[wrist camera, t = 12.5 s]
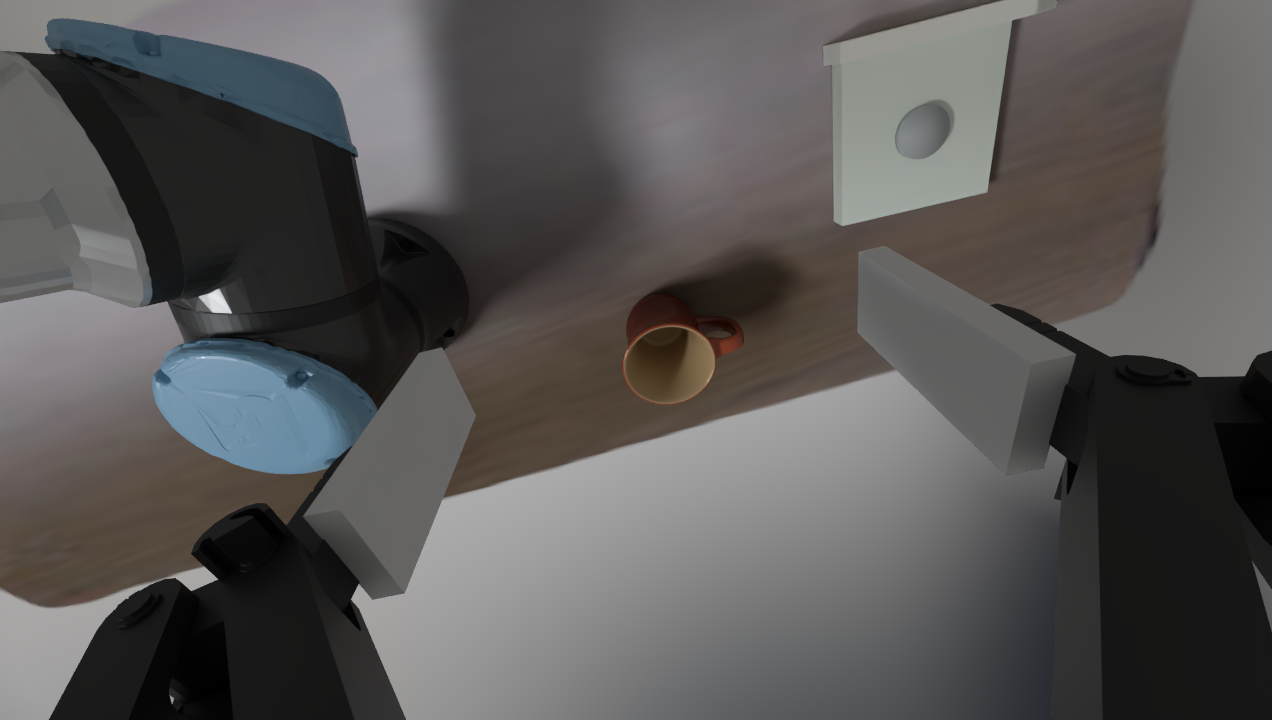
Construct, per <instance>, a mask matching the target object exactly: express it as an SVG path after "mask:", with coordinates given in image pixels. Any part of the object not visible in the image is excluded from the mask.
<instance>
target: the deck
mask: <svg viewBox="0 0 1272 720" xmlns="http://www.w3.org/2000/svg"><path fill="white" fill-rule="evenodd" d="M1056 5H1057V0H999V1H996V2H992V3H988V4H984V5H980V6H976V7H972V8H969V9H965V10H961V11H957V12H953V13H949V14H945V15H941V16H938V17H934V18H930V19H926V20H922V21H918V22H914V23H911V24H907V25H903V26H899V27H895V28H891V29H887V30H883V31H880V32H876V33H872V34H868V35H864V36H860V37H856V38H852V39H849V40H845V41H841V42H837V43H833V44H829V45H825V46H823V66H829V65H832V104H833V187H834V222H836V223H838V224H840V225H841V226H845V225H849V224H853V223H858V222H862V221H866V220H870V219H875V218H879V217H883V216H888V215H892V214H896V213H900V212H905V211H909V210H913V209H918V208H922V207H926V206H930V205H935V204H939V203H943V202H948V201H952V200H956V199H960V198H965V197H969V196H973V195H978V194H982V193H986V192H987V190H988V183H989V176H990V170H991V163H992V156H993V149H994V142H995V135H996V128H997V122H998V115H999V108H1000V101H1001V94H1002V87H1003V81H1004V74H1005V67H1006V60H1007V53H1008V46H1009V40H1010V33H1011V26H1012V20H1016V19H1020V18H1024V17H1027V16H1031V15H1035V14H1039V13H1043V12H1047V11H1051V10H1055V9H1056Z"/></svg>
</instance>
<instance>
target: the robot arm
mask: <svg viewBox="0 0 1272 720" xmlns="http://www.w3.org/2000/svg"><path fill="white" fill-rule="evenodd" d="M47 31H48V35H47V36H46V37H45V41H46V43H47V45H48V47H49V48H50V49H51V51H53V52H55V53H56V54H39V53H25V52H12V51H0V303H3V302H8V301H13V300H18V299H24V298H29V297H34V296H39V295H44V294H49V293H54V292H60V291H65V290H75V291H83V292H87V293H90V294H93V295H96V296H99V297H102V298H105V299H108V300H111V301H114V302H117V303H120V304H123V305H126V306H129V307H132V308H136V307H144V306H148V305H152V304H157V303H161V302H165V301H167V302H168V304H169V307H170V309H171V311H172V313H173V316H174V318H175V320H176V323H177V325H178V327H179V330H180V332H181V334H182V336H183V339H184V344H180V345H179V346H177V347H175V348H174V349H172V350H171V351H169V352H168V353H167V354H166V356H165V357H164V359H163V362H162V363H161V368H160V369H159V370H158V371H157V372H156V373H155V375H154V378H153V384H152V389H153V394H154V398H155V401H156V404H157V406H158V408H159V410H160V411H161V413H162V415H163V416H164V417H165V418H166V420H167V421H168V422H169V423H170V425H171V426H172V427H173V428H174V429H175V430H176V431H177V432H179V433H180V434H181V435H182V436H183V437H185V438H186V439H187V440H188V441H190V442H191V443H193V444H194V445H196V446H197V447H199V448H201V449H203V450H204V451H206V452H207V453H209V454H211V455H214V456H217V457H220V458H223V459H224V460H226V461H228V462H230V463H232V464H235V465H238V466H241V467H244V468H248V469H252V470H257V471H262V472H267V473H276V474H303V473H310V472H315V471H319V470H323V469H326V468H328V470H327V471H326V472H325V474H324V475H323V479H320V480H319V482H318V483H317V485H316V486H315V487H314V491H313V492H311V493H310V494H309V495H308V497H307V498H306V500H305V501H304V502H303V504H302V505H301V506H300V508H299V509H298V510H297V512H296V513H295V514H294V516H293V517H292V519H291V520H290V521H289V523H288V524H287V525H285V524H284V523H283V522H282V521H281V519H280V518H279V517H278V516H277V515H276V514H275V513H274V511H273V510H272V509H271V508H270V507H269V506H268V505H267V504H265V503H256V504H252V505H249V506H245V507H243V508H241V509H239V510H237V511H235V512H232V513H230V514H229V515H227V516H226V517H224V518H223V519H221V520H220V521H218V522H217V523H215V524H214V525H213V526H212V527H210V528H209V529H208V530H207V531H206V532H205V533H204V534H203V535H202V536H201V537H200V538H199V540H198V541H197V542H196V543H195V545H194V547H193V550H192V553H191V554H192V555H193V556H194V557H195V558H196V559H197V560H198V561H199V562H200V563H201V564H203V565H204V566H205V567H206V568H207V569H208V570H209V571H210V572H211V573H212V574H213V575H215V577H216V578H218V580H216V581H214V582H212V583H209V584H207V585H205V586H202V587H200V588H198V589H196V590H194V591H190V590H189V589H188V588H187V587H186V586H185V585H183V584H182V583H181V582H180V581H179V580H177V579H176V578H173V579H164V580H162V581H159V582H156V583H154V584H151V585H149V586H148V587H146V588H144V589H142V590H141V591H137V592H136V593H134V594H132V595H131V596H129V599H125V600H124V601H123V602H122V603H121V604H119V605H118V606H117V608H116V609H115V610H114V611H113V612H112V613H111V614H110V615H109V616H108V617H107V618H106V619H105V620H104V621H103V623H102V624H101V626H100V627H99V628H98V630H97V631H96V633H95V635H94V637H93V639H92V640H91V642H90V644H89V646H88V648H87V650H86V652H85V653H84V655H83V657H82V659H81V661H80V663H79V665H78V666H77V668H76V670H75V672H74V674H73V676H72V678H71V680H70V682H69V683H68V685H67V687H66V689H65V691H64V693H63V694H62V696H61V699H60V700H59V702H58V704H57V706H56V707H55V710H54V711H53V713H52V715H51V717H50V719H49V720H406V718H405V716H404V714H403V711H402V709H401V707H400V704H399V702H398V700H397V697H396V695H395V692H394V690H393V688H392V686H391V683H390V681H389V679H388V676H387V674H386V671H385V669H384V667H383V664H382V662H381V660H380V657H379V655H378V653H377V650H376V648H375V645H374V643H373V641H372V639H371V636H370V634H369V632H368V629H367V627H366V625H365V622H364V620H363V617H362V615H361V613H360V610H359V608H358V607H357V606H356V605H355V604H354V603H353V602H352V600H351V598H352V596H353V594H354V592H355V590H356V588H357V586H358V584H360V585H361V587H362V588H363V589H364V590H365V591H366V592H367V594H368V595H369V596H370V597H371V598H372V599H378V598H383V597H388V596H393V595H398V594H403V593H405V591H406V588H407V586H408V583H409V581H410V578H411V576H412V573H413V571H414V568H415V566H416V564H417V561H418V558H419V556H420V554H421V551H422V549H423V546H424V544H425V541H426V538H427V536H428V534H429V531H430V529H431V526H432V523H433V521H434V519H435V516H436V514H437V511H438V509H439V506H440V504H441V501H442V499H443V496H444V494H445V491H446V489H447V486H448V484H449V481H450V479H451V476H452V474H453V471H454V469H455V466H456V464H457V461H458V459H459V456H460V454H461V451H462V449H463V446H464V444H465V441H466V439H467V436H468V434H469V431H470V429H471V426H472V424H473V422H474V419H475V417H476V415H475V413H474V411H473V409H472V407H471V405H470V403H469V401H468V399H467V397H466V395H465V393H464V391H463V389H462V387H461V385H460V383H459V381H458V379H457V377H456V375H455V373H454V371H453V369H452V367H451V364H450V362H449V360H448V358H447V356H446V354H445V352H444V350H445V349H446V348H447V347H448V346H449V345H450V344H451V343H452V342H453V341H454V339H455V338H456V336H457V335H458V333H459V331H460V330H461V328H462V326H463V324H464V322H465V319H466V316H467V312H468V292H467V287H466V283H465V280H464V278H463V275H462V273H461V271H460V269H459V267H458V265H457V264H456V262H455V261H454V259H453V258H452V257H451V255H450V254H449V253H448V252H447V251H446V250H445V249H444V248H443V247H442V246H441V245H440V244H439V243H438V242H437V241H435V240H434V239H433V238H431V237H430V236H429V235H427V234H425V233H424V232H422V231H420V230H418V229H416V228H414V227H412V226H410V225H407V224H404V223H401V222H398V221H393V220H388V219H367V215H366V210H365V205H364V200H363V195H362V190H361V185H360V180H359V175H358V170H357V165H356V160H355V157H358V152H357V149H356V147H355V146H353V145H352V142H351V138H350V134H349V130H348V126H347V122H346V118H345V114H344V110H343V106H342V102H341V99H340V97H339V95H338V93H337V91H336V90H335V88H334V87H333V86H332V85H331V84H330V82H329V81H327V80H326V79H325V78H324V77H323V76H321V75H320V74H318V73H317V72H315V71H313V70H311V69H309V68H306V67H303V66H300V65H297V64H294V63H290V62H287V61H283V60H279V59H275V58H271V57H267V56H263V55H259V54H255V53H250V52H246V51H242V50H237V49H233V48H228V47H223V46H219V45H214V44H209V43H204V42H199V41H194V40H189V39H184V38H179V37H173V36H168V35H154V34H152V33H150V32H144V31H138V30H131V29H127V28H123V27H119V26H114V25H109V24H103V23H96V22H90V21H82V20H74V19H52V20H50V21H49V22H48V24H47ZM858 333H859V334H860V335H861V336H862V337H863V338H864V339H865V340H866V341H867V342H868V343H869V344H870V345H871V346H872V347H873V348H874V349H875V350H876V351H877V352H878V353H880V354H881V355H882V356H883V357H884V358H885V359H886V360H887V361H888V362H889V363H890V364H891V365H892V366H893V367H894V368H895V369H896V370H897V371H898V372H899V373H900V374H901V375H902V376H903V377H904V378H905V379H906V380H907V381H908V382H909V383H910V384H911V385H913V387H915V388H916V389H917V390H918V391H919V392H920V393H921V394H922V395H923V396H924V397H925V398H926V399H927V400H928V401H929V402H930V403H931V404H932V405H933V406H934V407H935V408H936V409H937V410H938V411H939V412H940V413H941V414H942V415H943V416H945V418H947V420H949V421H950V422H951V423H952V424H953V425H954V426H955V427H956V428H957V429H958V430H959V431H960V432H961V433H962V434H963V435H964V436H965V437H966V438H967V439H968V440H969V441H970V442H971V443H972V444H973V445H974V446H975V447H976V448H977V449H978V450H979V451H980V452H982V453H983V454H984V455H985V456H986V457H987V458H988V459H989V460H990V461H991V462H992V463H993V464H994V465H995V466H996V467H997V468H998V469H999V470H1000V471H1001V472H1003V474H1004V475H1005V476H1006V475H1012V474H1017V473H1022V472H1027V471H1032V470H1037V469H1042V468H1044V465H1045V462H1046V459H1047V455H1048V452H1049V448H1050V445H1051V446H1052V447H1054V448H1055V449H1056V450H1057V451H1059V452H1060V453H1061V454H1062V455H1064V456H1065V457H1066V458H1067V459H1066V462H1065V465H1064V468H1063V472H1062V475H1061V478H1060V481H1059V484H1058V488H1057V491H1056V494H1055V497H1054V499H1057V500H1061V515H1060V536H1059V537H1060V539H1059V558H1058V580H1057V602H1056V625H1055V645H1054V646H1055V647H1054V667H1053V668H1054V669H1053V688H1052V710H1051V720H1272V632H1271V628H1270V624H1269V621H1268V617H1267V613H1266V610H1265V606H1264V603H1263V599H1262V595H1261V592H1260V588H1259V585H1258V581H1257V578H1256V574H1255V571H1254V567H1253V563H1252V561H1253V562H1254V564H1255V565H1256V567H1257V568H1258V570H1259V571H1260V573H1261V574H1262V576H1263V577H1264V578H1265V580H1266V582H1267V583H1268V584H1269V586H1270V587H1271V589H1272V351H1269V352H1266V353H1262V354H1259V355H1257V356H1256V358H1255V359H1254V360H1253V362H1252V364H1251V366H1250V368H1249V370H1248V372H1247V374H1246V376H1241V377H1240V376H1239V377H1198V376H1197V375H1196V373H1194V372H1192V371H1191V370H1189V369H1187V368H1185V367H1184V366H1182V365H1179V364H1176V363H1173V362H1170V361H1167V360H1164V359H1159V358H1153V357H1147V356H1136V355H1135V356H1134V355H1121V356H1114V357H1109V356H1107V355H1105V354H1104V353H1102V352H1100V351H1098V350H1096V349H1094V348H1092V347H1090V346H1088V345H1087V344H1085V343H1083V342H1081V341H1079V340H1077V339H1075V338H1073V337H1072V336H1069V335H1068V334H1066V333H1064V332H1062V331H1057V329H1056V328H1055V327H1053V326H1051V325H1049V324H1047V323H1045V322H1044V323H1042V322H1041V320H1040V319H1038V318H1036V317H1034V316H1032V315H1030V314H1028V313H1027V312H1025V311H1023V310H1019V309H1016V308H1012V307H1008V306H1005V305H1001V304H993V305H988V304H986V303H985V302H983V301H981V300H979V299H977V298H976V297H974V296H972V295H970V294H969V293H967V292H965V291H963V290H962V289H960V288H958V287H956V286H954V285H953V284H951V283H949V282H947V281H946V280H944V279H942V278H940V277H939V276H937V275H935V274H933V273H931V272H930V271H928V270H926V269H924V268H923V267H921V266H919V265H917V264H916V263H914V262H912V261H910V260H909V259H907V258H905V257H903V256H901V255H900V254H898V253H896V252H894V251H893V250H891V249H889V248H887V247H886V246H882V247H878V248H874V249H869V250H865V251H861V252H859V270H858ZM169 695H170V696H172V697H173V698H174V701H173V704H172V703H171V699H170V696H169Z"/></svg>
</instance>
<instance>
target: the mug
mask: <svg viewBox="0 0 1272 720" xmlns="http://www.w3.org/2000/svg"><path fill="white" fill-rule="evenodd" d="M714 330H722V331H726V332H728V333H730V334H731V335H732V336H730V337H726V338H713V337H706V336H705V335H704V334H705V333H707V332H710V331H714ZM626 333H627V339H628V348H627V350H626V352H625V355H624V359H623V374H624V378H625V380H626V382H627V384H628V386H629V387H630V389H631V390H632V391H633V392H634V393H635V394H636V395H638V396H639V397H641V398H642V399H644V400H646V401H649V402H652V403H656V404H664V405H668V404H677V403H681V402H684V401H687V400H689V399H691V398H693V397H695V396H696V395H698V394H699V393H700V392H701V391H703V390H704V389H705V387H706V386H707V385H708V384H709V382H710V381H711V379H712V377H713V375H714V373H715V370H716V358H719V357H721V356H723V355H725V354H728V353H731V352H733V351H736V350H738V349H739V348H741V346H742V345H743V343H744V334H743V330H742V328H741V327H740V325H739V324H738V323H737V322H736V321H734V320H732V319H730V318H726V317H719V316H694V315H693V313H692V311H691V309H690V308H689V307H688V306H687V305H686V304H685V303H684V302H683V301H682V300H680V299H679V298H677V297H675V296H673V295H670V294H665V293H657V294H652V295H649V296H646V297H644V298H643V299H641V300H640V301H639V302H638V303H637V304H636V305H635V306H634V307H633V309H632V311H631V313H630V315H629V318H628V322H627V327H626Z"/></svg>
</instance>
